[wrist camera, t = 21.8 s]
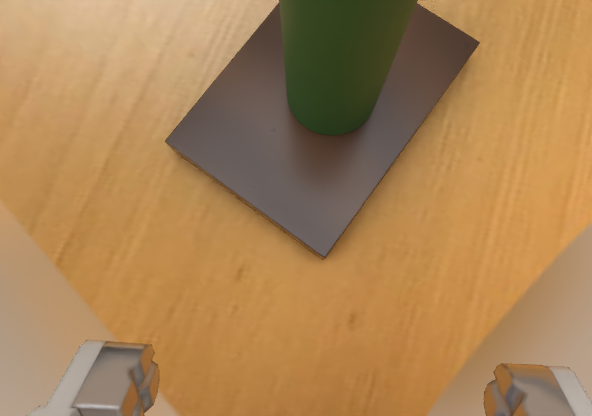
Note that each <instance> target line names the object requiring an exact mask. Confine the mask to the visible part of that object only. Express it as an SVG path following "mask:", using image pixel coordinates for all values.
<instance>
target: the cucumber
mask: <svg viewBox="0 0 592 416" xmlns="http://www.w3.org/2000/svg"><path fill="white" fill-rule="evenodd" d="M417 1H418V0H279V5H280V17H281V29H282V41H283V53H284V65H285V77H286V89H287V100H288V104H289V107H290V110H291V111H292V113H293V115H294V116H295V118H296V119H297V120H298V121H299V122H300V123H301V124H302V125H303V126H305V127H306V128H308V129H309V130H311V131H314V132H316V133H319V134H324V135H341V134H345V133H348V132H351V131H353V130H355V129H357V128H358V127H360V126H361V125H362V124H363V123H364V122H365V121H366V120H367V119H368V118H369V117H370V115H371V113H372V111H373V109H374V107H375V105H376V102H377V100H378V97H379V95H380V92H381V90H382V87H383V85H384V82H385V80H386V77H387V75H388V73H389V70H390V68H391V65H392V63H393V60H394V58H395V55H396V53H397V50H398V48H399V45H400V43H401V40H402V38H403V35H404V33H405V31H406V28H407V26H408V23H409V21H410V18H411V16H412V13H413V11H414V8H415V6H416V3H417Z"/></svg>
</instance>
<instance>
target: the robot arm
mask: <svg viewBox="0 0 592 416" xmlns="http://www.w3.org/2000/svg"><path fill="white" fill-rule="evenodd" d="M154 354H155V352H154V349H153V346H152V344H138V343H124V342H110V341H97V340H86V341H85V342H84V343H83V344H82V345H81V346H80V347H79V349H78V351H77V352H76V354H75V356H74V358H73V359H72V361H71V363H70V365H69V366H68V368H67V370H66V372H65V374H64V375H63V377H62V379H61V380H60V382H59V384H58V386H57V387H56V389H55V391H54V393H53V394H52V396H51V398H50V400H49V401H48V403H47V405H46V406H38V407H37V408H36V409H34V410H33V411H32V412H31V413H29V414H28V415H27V416H144V413H145V412H146V411H147V410H148V409H149V408H151V407H152V406H153V405H154V402H155V399H156V396H157V393H158V387H159V381H160V375H159V367H158V364H156V363H155V362H154V361H152V359H153V356H154ZM494 375H495V378H496V379H495V380H493V381H492V382H490V383H488V385H487V387H486V390H485V392H484V408H485V413H486V416H592V402H591V400H590V399H589V397H588V395H587V393H586V392H585V390H584V388H583V386H582V385H581V383H580V381H579V379H578V378H577V376H576V374H575V373H574V372H573V371H572V370H571V369H570V368H568V367H559V366H543V365H527V364H499V365H498V366H497V367H496V369H495V370H494Z"/></svg>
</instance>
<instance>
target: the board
mask: <svg viewBox="0 0 592 416" xmlns="http://www.w3.org/2000/svg"><path fill="white" fill-rule="evenodd" d="M479 43H480V42H479V41H477V40H475V39H474V38H472V37H470V36H469V35H467V34H466V33H464V32H462V31H461V30H459V29H458V28H456V27H454V26H453V25H451V24H450V23H448V22H446V21H445V20H443V19H441V18H440V17H438V16H437V15H435V14H433V13H432V12H430V11H429V10H427V9H425V8H424V7H422V6H421V5H419V4H417V3H416V6H415V8H414V11H413V13H412V16H411V18H410V21H409V23H408V26H407V28H406V31H405V33H404V35H403V38H402V40H401V43H400V45H399V48H398V50H397V53H396V55H395V58H394V60H393V63H392V65H391V68H390V70H389V73H388V75H387V77H386V80H385V82H384V85H383V87H382V90H381V92H380V95H379V97H378V100H377V102H376V105H375V107H374V109H373V111H372V113H371V115H370V117H369V118H368V119H367V120H366V121H365V122H364V123H363V124H362V125H361V126H360V127H358V128H357V129H355V130H353V131H351V132H348V133H345V134H341V135H324V134H319V133H316V132H314V131H311V130H309V129H308V128H306V127H305V126H303V125H302V124H301V123H300V122H299V121H298V120H297V119H296V118H295V116H294V115H293V113H292V111H291V110H290V107H289V104H288V100H287V89H286V77H285V65H284V53H283V41H282V29H281V17H280V5H279V3H278V5H277V6H276V7H275V8H274V9H273V11H272V12H271V13H270V14H269V15H268V17H267V18H266V19H265V20H264V21H263V23H262V24H261V25H260V26H259V28H258V29H257V30H256V31H255V32H254V34H253V35H252V36H251V37H250V38H249V40H248V41H247V42H246V43H245V45H244V46H243V47H242V48H241V49H240V51H239V52H238V53H237V54H236V55H235V57H234V58H233V59H232V60H231V61H230V63H229V64H228V65H227V66H226V68H225V69H224V70H223V71H222V72H221V74H220V75H219V76H218V77H217V78H216V80H215V81H214V82H213V83H212V85H211V86H210V87H209V88H208V89H207V91H206V92H205V93H204V94H203V95H202V97H201V98H200V99H199V100H198V101H197V103H196V104H195V105H194V106H193V108H192V109H191V110H190V111H189V112H188V114H187V115H186V116H185V117H184V118H183V120H182V121H181V122H180V123H179V125H178V126H177V127H176V128H175V129H174V131H173V132H172V133H171V134H170V135H169V137H168V138H167V139H166V140H165V142H166V143H167V144H168V145H169V146H170V147H171V148H172V149H173V150H174V151H175V152H176V153H178V154H179V155H180V156H182V157H183V158H184V159H186V160H187V161H188V162H190V163H191V164H193V165H194V166H195V167H197V168H198V169H199V170H201V171H202V172H203V173H205V174H206V175H208V176H209V177H210V178H212V179H213V180H214V181H216V182H217V183H218V184H220V185H221V186H223V187H224V188H225V189H227V190H228V191H229V192H231V193H232V194H233V195H235V196H236V197H238V198H239V199H240V200H242V201H243V202H244V203H246V204H247V205H248V206H250V207H251V208H253V209H254V210H255V211H257V212H258V213H259V214H261V215H262V216H263V217H265V218H266V219H268V220H269V221H270V222H272V223H273V224H274V225H276V226H277V227H278V228H280V229H281V230H283V231H284V232H285V233H287V234H288V235H289V236H291V237H292V238H293V239H295V240H296V241H298V242H299V243H300V244H302V245H303V246H304V247H306V248H307V249H308V250H310V251H311V252H313V253H314V254H315V255H317V256H318V257H319V258H321V259H322V260H324V259H325V257H326V256H327V255H328V253H329V252H330V250H331V249H332V248H333V246H334V245H335V243H336V242H337V241H338V239H339V238H340V237H341V235H342V234H343V232H344V231H345V230H346V228H347V227H348V225H349V224H350V223H351V221H352V220H353V219H354V217H355V216H356V214H357V213H358V212H359V210H360V209H361V207H362V206H363V205H364V203H365V202H366V200H367V199H368V198H369V196H370V195H371V194H372V192H373V191H374V189H375V188H376V187H377V185H378V184H379V182H380V181H381V180H382V178H383V177H384V175H385V174H386V173H387V171H388V170H389V169H390V167H391V166H392V164H393V163H394V162H395V160H396V159H397V157H398V156H399V155H400V153H401V152H402V150H403V149H404V148H405V146H406V145H407V144H408V142H409V141H410V139H411V138H412V137H413V135H414V134H415V132H416V131H417V130H418V128H419V127H420V125H421V124H422V123H423V121H424V120H425V119H426V117H427V116H428V114H429V113H430V112H431V110H432V109H433V107H434V106H435V105H436V103H437V102H438V100H439V99H440V98H441V96H442V95H443V94H444V92H445V91H446V89H447V88H448V87H449V85H450V84H451V82H452V81H453V80H454V78H455V77H456V76H457V74H458V73H459V71H460V70H461V69H462V67H463V66H464V64H465V63H466V62H467V60H468V59H469V57H470V56H471V55H472V53H473V52H474V51H475V49H476V48H477V46H478V45H479Z"/></svg>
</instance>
